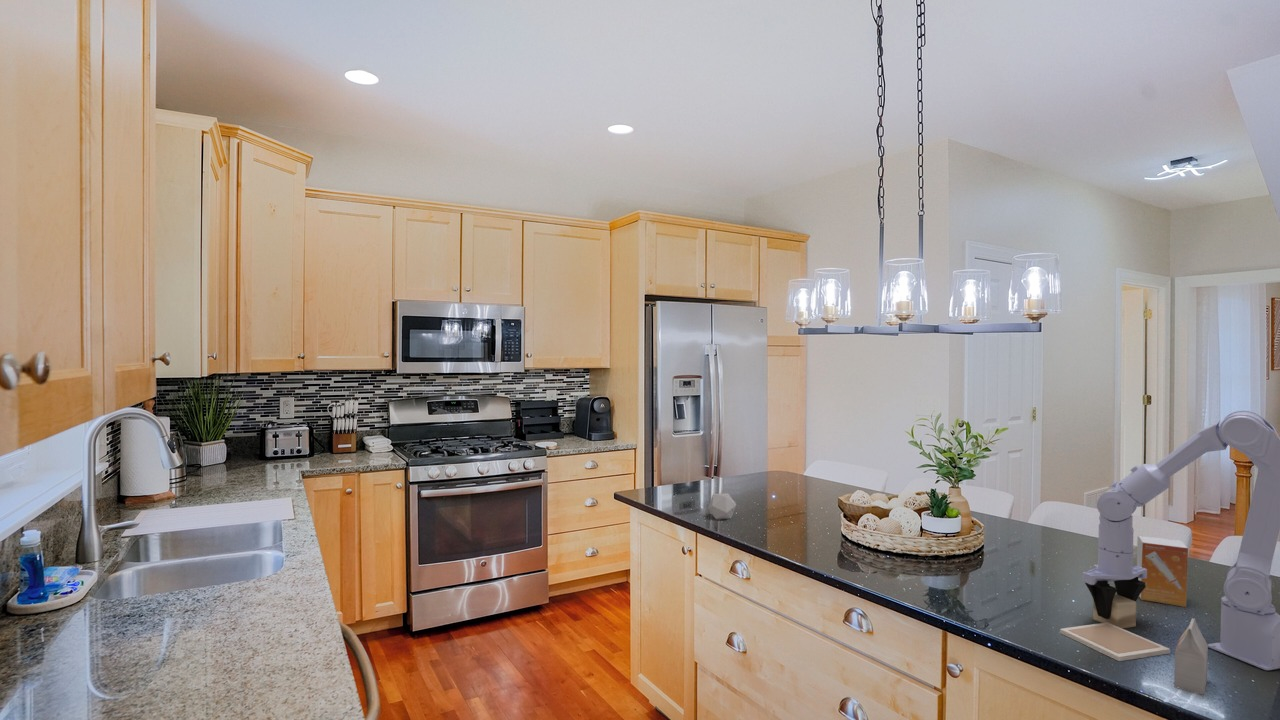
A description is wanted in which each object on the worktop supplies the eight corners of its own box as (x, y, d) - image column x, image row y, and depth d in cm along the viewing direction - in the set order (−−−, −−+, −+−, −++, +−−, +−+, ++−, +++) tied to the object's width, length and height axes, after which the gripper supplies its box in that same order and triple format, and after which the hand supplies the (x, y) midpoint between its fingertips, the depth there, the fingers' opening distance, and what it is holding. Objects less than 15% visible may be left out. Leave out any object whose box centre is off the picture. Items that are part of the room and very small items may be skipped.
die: (731, 524, 208) (743, 498, 211) (708, 511, 208) (720, 484, 211) (723, 527, 215) (735, 501, 219) (700, 514, 215) (712, 488, 219)
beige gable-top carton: (1207, 680, 110) (1208, 621, 110) (1203, 695, 105) (1205, 633, 105) (1178, 672, 113) (1180, 614, 112) (1174, 686, 108) (1175, 626, 108)
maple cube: (1135, 626, 131) (1136, 601, 131) (1116, 629, 130) (1117, 604, 130) (1111, 616, 136) (1112, 592, 136) (1093, 619, 135) (1093, 594, 135)
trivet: (1169, 653, 120) (1170, 648, 120) (1119, 661, 116) (1119, 656, 116) (1107, 626, 131) (1107, 621, 131) (1059, 632, 128) (1059, 628, 128)
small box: (1140, 600, 145) (1141, 541, 144) (1135, 591, 150) (1136, 534, 150) (1187, 607, 141) (1188, 547, 140) (1180, 598, 146) (1181, 540, 146)
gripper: (1123, 540, 138) (1122, 604, 139) (1069, 546, 135) (1068, 611, 135) (1158, 550, 132) (1156, 617, 132) (1101, 556, 128) (1100, 625, 128)
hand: (1114, 615), depth 133 cm, fingers closed on maple cube, 5 cm apart
